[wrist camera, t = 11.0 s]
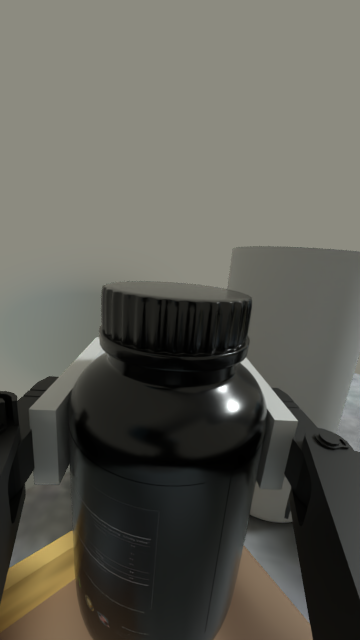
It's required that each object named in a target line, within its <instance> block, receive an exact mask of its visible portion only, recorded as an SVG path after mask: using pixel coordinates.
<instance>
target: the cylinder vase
mask: <svg viewBox="0 0 360 640" xmlns="http://www.w3.org/2000/svg"><path fill="white" fill-rule="evenodd" d="M227 289H229V290H234V291H238V292H241V293H244V294H247V295H249V296H250V297H252V311H251V318H250V324H249V330H248V336H249V338H250V344H249V349H248V354H247V356H246V358H247V359H248V360H249V362H250V363H251V364H252V365H253V366H254V368H255V369H256V370H257V371H258V373H259V374H260V375H261V376H262V377H263V379H264V380H265V381H266V382H267V384H268V385H269V386H270V387H271V388H279V389H280V390H282V391H283V392H285V393H286V394H288V395H289V396H290V397H291V399H292V400H293V401H294V403H296V404H297V405H298V406H299V407H300V409H301V410H302V411H303V412H304V413H305V414H306V415H307V416H308V417H309V418H310V420H311V421H312V422H313V423H314V424H315V425H316V426H317V427H318V428H322V429H325V430H328V431H331V432H333V433H335V434H336V433H337V430H338V427H339V423H340V420H341V416H342V413H343V409H344V406H345V402H346V399H347V396H348V392H349V389H350V385H351V382H352V378H353V375H354V371H355V368H356V365H357V361H358V358H359V354H360V252H357V251H347V250H334V249H320V248H319V249H318V248H302V247H270V246H268V247H264V246H263V247H262V246H259V247H258V246H253V247H236V248H233V250H232V258H231V266H230V273H229V280H228V288H227ZM290 490H291V485H290V484H289V482H288V480H287V478H286V476H285V477H284V481H283V485H282V489H281V490H275V489H260V488H259V485H258V483H257V481H256V485H255V490H254V495H253V500H252V505H251V510H250V515H252V516H254V517H256V518H259V519H262V520H265V521H270V522H277V523H287V522H293V520H292V515H291V511H290V514H289V517H288V519H286V518H284V517H285V509H286V505H287V501H288V497H289V494H290Z"/></svg>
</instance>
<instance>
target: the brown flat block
mask: <svg viewBox="0 0 360 640" xmlns="http://www.w3.org/2000/svg"><path fill="white" fill-rule="evenodd" d="M0 640H93V639H92V638H91V636H90V634H89V633H88V630H87V628H86V626H85V624H84V621H83V618H82V616H81V613H80V608H79V604H78V599H77V592H76V583H75V570H74V547H73V530H72V531H70V532H69V533H67V534H65V535H64V536H62V537H60V538H59V539H57V540H55V541H54V542H52V543H50V544H49V545H47V546H45V547H44V548H42V549H40V550H39V551H37V552H35V553H34V554H32V555H30V556H29V557H27V558H25V559H24V560H22V561H20V562H19V563H17V564H15V565H14V566H12V567H10V568H9V569H8V573H7V578H6V582H5V586H4V591H3V595H2V599H1V604H0ZM213 640H313V638H312V632H311V626H310V623H309V622H308V621H307V620H306V619H305V617H304V616H303V615H302V614H301V613H300V612H299V610H298V609H297V608H296V607H295V606H294V604H293V603H292V602H291V601H290V600H289V598H288V597H287V596H286V595H285V594H284V593H283V591H282V590H281V589H280V588H279V587H278V585H277V584H276V583H275V582H274V581H273V579H272V578H271V577H270V576H269V575H268V574H267V572H266V571H265V570H264V569H263V568H262V566H261V565H260V564H259V563H258V562H257V561H256V559H255V558H254V557H253V556H252V555H251V553H250V552H249V551H248V550H247V549H246V547H245V546H243V551H242V556H241V561H240V566H239V571H238V576H237V580H236V585H235V589H234V593H233V597H232V601H231V604H230V607H229V610H228V613H227V616H226V618H225V620H224V622H223V624H222V627H221V628H220V630H219V632H218V633H217V635H216V637H215V638H214V639H213Z"/></svg>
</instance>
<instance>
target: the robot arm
mask: <svg viewBox="0 0 360 640" xmlns="http://www.w3.org/2000/svg"><path fill="white" fill-rule="evenodd" d="M103 353H105V351H104V350H103V349H102V348H101V346H100V342H99V338H95V339H94V340H93V341H92V343H91V344H90V345H89V346H88V347H87V348H86V349H85V350H84V351H83V352H82V353H81V354H80V355H79V357H78V358H76V360H75V361H74V362H73V363H72V364H71V365H70V366H69V367H68V368H67V369H66V370H65V371H64V372H63V373H62V374H61V376H60V377H50V376H49V377H47V378H45V379H43V380H41V381H39V382H38V383H36V384H35V385H34V386H33V387H32V388H31V389H30V391H28V392H27V393H26V394H25V395H24V396H23V397H21V398H20V399H19V400H18V401H17V396H16V395H15V394H14V393H11V392H7V391H0V604H1V599H2V595H3V591H4V586H5V582H6V578H7V573H8V569H9V565H10V560H11V556H12V552H13V547H14V543H15V539H16V534H17V530H18V526H19V521H20V517H21V513H22V508H23V504H24V500H25V482H26V481H27V479H28V478H29V476H30V475H31V473H32V471H33V472H34V484H42V485H59V484H60V482H61V480H62V478H63V476H64V474H65V472H66V469H67V468H68V465H69V463H70V456H69V432H68V405H69V398H70V395H71V392H72V389H73V387H74V385H75V383H76V381H77V379H78V377H79V376H80V374H81V373H82V372H83V371H84V369H85V368H86V367H87V366H88V365H89V364H90V363H91V362H92V361H93V360H95V359H96V358H97V357H99V356H100V355H102V354H103ZM240 363H241V364H242V365H244V366H245V367H246V368H247V369H248V370H249V371H250V372H251V374H252V375H253V376H254V378H255V379H256V381H257V382H258V384H259V386H260V388H261V390H262V393H263V395H264V398H265V402H266V406H267V425H266V433H265V439H264V444H263V449H262V454H261V460H260V465H259V470H258V475H257V480H256V481H257V483H258V485H259V488H260V489H275V490H281V489H282V485H283V481H284V477H285V476H286V478H287V480H288V482H289V484H290V485H291V490H290V494H289V497H288V501H287V505H286V509H285V517H284V518H286V519H288V517H289V514H290V511H291V515H292V520H293V526H294V532H295V538H296V544H297V550H298V556H299V561H300V567H301V573H302V579H303V585H304V591H305V597H306V602H307V608H308V614H309V620H310V626H311V632H312V638H313V640H360V452H357V451H354V450H353V448H352V447H351V446H350V445H349V443H348V442H347V441H345V440H344V439H343V438H342V437H340V436H339V435H337V434H335V433H333V432H331V431H328V430H325V429H322V428H318V427H317V426H316V425H315V424H314V423H313V422H312V421H311V420H310V418H309V417H308V416H307V415H306V414H305V413H304V412H303V411H302V410H301V409H300V407H299V406H298V405H297V404H296V403H294V401H293V400H292V399H291V397H290V396H289V395H288V394H286V393H285V392H283V391H282V390H280V389H279V388H271V387H270V386H269V385H268V384H267V382H266V381H265V380H264V379H263V377H262V376H261V375H260V374H259V373H258V371H257V370H256V369H255V368H254V366H253V365H252V364H251V363H250V362H249V360H248V359H247V358H245V359H244V360H243V361H242V362H240Z"/></svg>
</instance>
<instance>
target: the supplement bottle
mask: <svg viewBox="0 0 360 640" xmlns="http://www.w3.org/2000/svg"><path fill="white" fill-rule="evenodd" d="M251 311H252V297H250V296H249V295H247V294H244V293H241V292H238V291H234V290H229V289H224V288H218V287H212V286H205V285H196V284H186V283H172V282H151V281H127V282H115V283H110V284H106V285H104V286H103V287H102V325H101V326H100V328H99V342H100V346H101V348H102V349H103V350H104V351H105V353H103V354H102V355H100V356H99V357H97V358H96V359H95V360H93V361H92V362H91V363H90V364H89V365H88V366H87V367H86V368H85V369H84V371H83V372H82V373H81V374H80V376H79V377H78V379H77V381H76V383H75V385H74V387H73V389H72V392H71V395H70V398H69V405H68V432H69V456H70V478H71V501H72V524H73V547H74V570H75V583H76V592H77V599H78V604H79V608H80V613H81V616H82V618H83V621H84V624H85V626H86V628H87V630H88V633H89V634H90V636H91V638H92V639H93V640H213V639H214V638H215V637H216V635H217V633H218V632H219V630H220V628H221V627H222V624H223V622H224V620H225V618H226V616H227V613H228V610H229V607H230V604H231V601H232V597H233V593H234V589H235V585H236V580H237V576H238V571H239V566H240V561H241V556H242V551H243V546H244V541H245V536H246V530H247V525H248V520H249V515H250V510H251V505H252V500H253V495H254V490H255V485H256V480H257V475H258V470H259V465H260V460H261V454H262V449H263V444H264V439H265V433H266V425H267V406H266V402H265V398H264V395H263V393H262V390H261V388H260V386H259V384H258V382H257V381H256V379H255V378H254V376H253V375H252V374H251V372H250V371H249V370H248V369H247V368H246V367H245V366H244V365H242V364H241V363H240V362H242V361H243V360H244V359H245V358H246V356H247V354H248V349H249V344H250V338H249V336H248V330H249V324H250V318H251Z"/></svg>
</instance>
